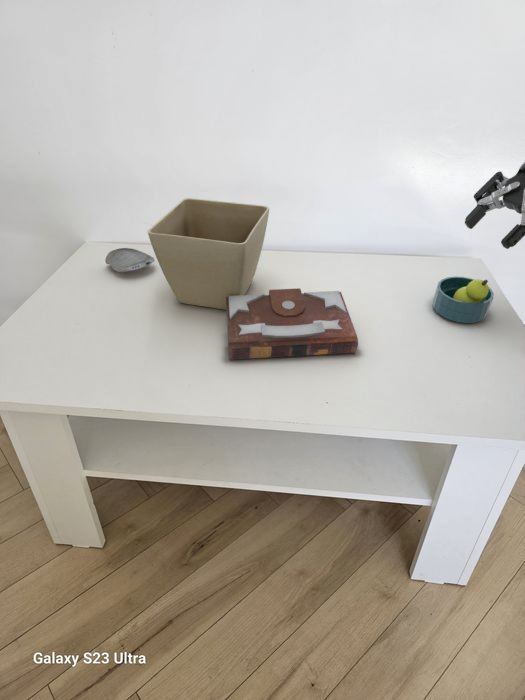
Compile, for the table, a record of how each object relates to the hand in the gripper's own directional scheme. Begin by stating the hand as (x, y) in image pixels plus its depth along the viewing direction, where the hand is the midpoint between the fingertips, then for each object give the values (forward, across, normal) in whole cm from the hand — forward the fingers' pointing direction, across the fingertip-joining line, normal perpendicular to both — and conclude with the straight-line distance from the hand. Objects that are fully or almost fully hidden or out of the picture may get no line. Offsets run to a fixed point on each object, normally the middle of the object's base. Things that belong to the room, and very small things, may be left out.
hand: (485, 235), depth 80 cm
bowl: (+11, -3, +16) cm, 19 cm away
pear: (+10, -3, +15) cm, 18 cm away
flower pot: (+42, -30, -15) cm, 53 cm away
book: (+36, -10, -10) cm, 39 cm away
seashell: (+52, -47, -26) cm, 75 cm away
